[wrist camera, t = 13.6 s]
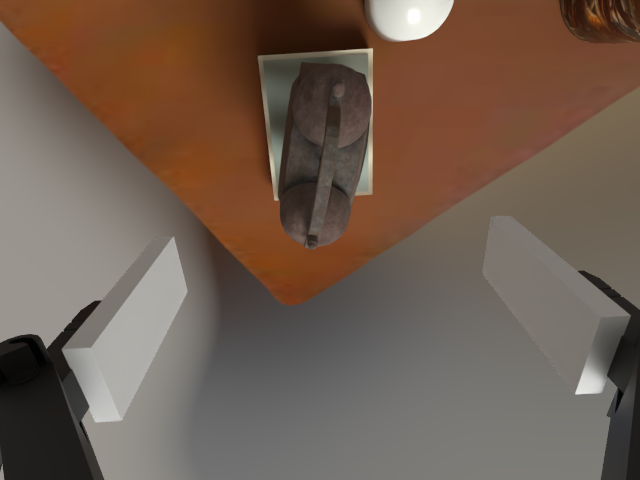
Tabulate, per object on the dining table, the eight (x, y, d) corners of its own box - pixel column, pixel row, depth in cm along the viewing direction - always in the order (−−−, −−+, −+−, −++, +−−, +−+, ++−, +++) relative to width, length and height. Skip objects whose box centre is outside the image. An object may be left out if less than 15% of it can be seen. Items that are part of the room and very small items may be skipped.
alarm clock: (341, 196, 47) (360, 286, 29) (282, 187, 46) (263, 274, 28) (367, 67, 40) (412, 78, 22) (298, 54, 40) (288, 56, 22)
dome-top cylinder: (363, -33, 39) (375, -52, 32) (432, -37, 39) (459, -58, 32) (364, 43, 42) (375, 41, 35) (427, 40, 42) (451, 37, 35)
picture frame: (261, 55, 42) (257, 55, 40) (368, 48, 42) (373, 48, 40) (276, 192, 50) (274, 201, 47) (368, 186, 49) (372, 195, 47)
